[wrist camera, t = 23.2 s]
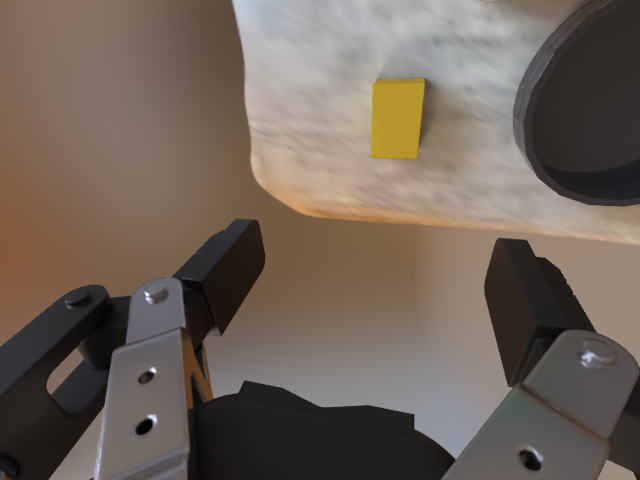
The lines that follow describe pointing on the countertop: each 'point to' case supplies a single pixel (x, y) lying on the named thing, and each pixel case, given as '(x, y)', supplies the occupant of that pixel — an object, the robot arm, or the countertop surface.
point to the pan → (585, 106)
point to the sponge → (396, 117)
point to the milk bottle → (494, 0)
